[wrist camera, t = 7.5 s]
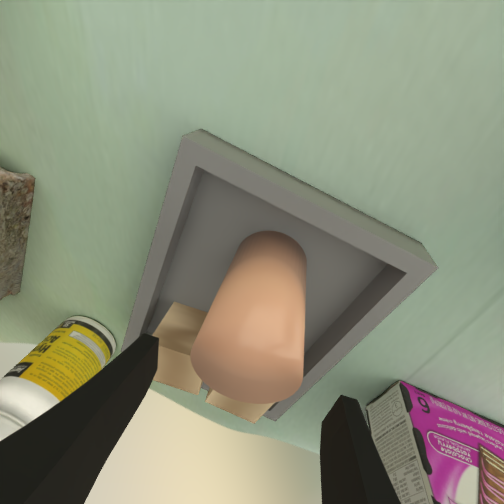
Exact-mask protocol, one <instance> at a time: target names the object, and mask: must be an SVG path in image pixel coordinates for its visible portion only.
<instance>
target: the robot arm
mask: <svg viewBox="0 0 504 504" xmlns="http://www.w3.org/2000/svg"><path fill="white" fill-rule="evenodd" d="M158 350H159V338H158V337H155V336H151V335H148V334H145V333H144V334H142V335H140V336H139V337H138V338H137V339H136V340H135V341H134V342H133V343H132V344H131V345H130V346H129V347H127V348H126V349H125V350H124V351H123V352H122V353H121V354H120V355H118V356H117V357H116V358H115V359H114V360H113V361H111V362H110V363H109V364H108V365H107V366H105V367H104V368H103V369H102V370H100V371H99V372H98V373H97V374H96V375H94V376H93V377H92V378H91V379H89V380H88V381H87V382H86V383H84V384H83V385H82V386H80V387H79V388H78V389H76V390H75V391H74V392H72V393H71V394H70V395H68V396H67V397H66V398H64V399H63V400H62V401H60V402H59V403H57V404H56V405H54V406H53V407H52V408H50V409H49V410H47V411H46V412H44V413H43V414H42V415H40V416H39V417H37V418H36V419H34V420H33V421H31V422H30V423H28V424H26V425H25V426H23V427H22V428H20V429H19V430H17V431H15V432H14V433H12V434H11V435H9V436H8V437H6V438H4V439H3V440H1V441H0V504H84V502H85V500H86V498H87V496H88V495H89V493H90V490H91V489H92V487H93V485H94V483H95V481H96V479H97V477H98V475H99V473H100V471H101V469H102V467H103V465H104V464H105V462H106V460H107V458H108V457H109V455H110V453H111V451H112V450H113V448H114V447H115V445H116V443H117V442H118V440H119V438H120V437H121V435H122V433H123V432H124V430H125V428H126V427H127V425H128V423H129V422H130V420H131V419H132V417H133V415H134V414H135V412H136V410H137V409H138V407H139V405H140V403H141V402H142V400H143V398H144V397H145V395H146V393H147V391H148V389H149V387H150V385H151V382H152V380H153V378H154V376H155V374H156V372H157V369H158ZM320 465H321V486H322V487H321V488H322V504H401V502H400V500H399V498H398V496H397V493H396V491H395V489H394V487H393V485H392V483H391V480H390V478H389V476H388V474H387V471H386V469H385V467H384V464H383V462H382V460H381V458H380V455H379V453H378V450H377V448H376V446H375V443H374V441H373V438H372V436H371V433H370V431H369V428H368V426H367V423H366V421H365V418H364V415H363V413H362V410H361V408H360V405H359V402H358V401H357V400H356V399H353V398H350V397H347V396H343V395H340V397H339V398H338V400H337V401H336V403H335V404H334V406H333V407H332V408H331V410H330V411H329V413H328V414H327V416H326V417H325V418H324V420H323V421H322V428H321V444H320Z"/></svg>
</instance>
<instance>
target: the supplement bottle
mask: <svg viewBox="0 0 504 504" xmlns="http://www.w3.org/2000/svg"><path fill="white" fill-rule="evenodd" d="M115 349H116V343H115V340H114V337H113V336H112V334H111V333H110V332H109V331H108V330H107V329H106V328H105V327H104V326H103V325H101V324H100V323H98V322H96V321H94V320H92V319H90V318H87V317H83V316H73V317H70V318H68V319H66V320H65V321H64V322H62V323H61V324H60V325H59V326H58V327H57V328H56V329H55V330H54V331H53V332H51V333H50V334H49V335H48V336H47V337H46V338H45V339H44V340H43V341H42V342H41V343H40V344H38V345H37V346H36V347H35V348H34V349H33V350H32V351H31V352H30V353H29V354H28V355H27V356H26V357H24V358H23V359H22V360H21V361H20V362H19V363H18V364H17V365H16V366H15V367H14V368H13V369H11V370H10V371H9V372H8V373H7V374H6V375H5V376H4V377H3V378H2V379H1V380H0V441H1V440H3V439H4V438H6V437H8V436H9V435H11V434H12V433H14V432H15V431H17V430H19V429H20V428H22V427H23V426H25V425H26V424H28V423H30V422H31V421H33V420H34V419H36V418H37V417H39V416H40V415H42V414H43V413H44V412H46V411H47V410H49V409H50V408H52V407H53V406H54V405H56V404H57V403H59V402H60V401H62V400H63V399H64V398H66V397H67V396H68V395H70V394H71V393H72V392H74V391H75V390H76V389H78V388H79V387H80V386H82V385H83V384H84V383H86V382H87V381H88V380H89V379H91V378H92V377H93V376H94V375H96V374H97V373H98V372H99V371H100V370H101V369H102V368H103V367H104V366H105V364H106V363H107V362H108V360H109V359H110V358H111V356H112V355H113V354H114V352H115Z"/></svg>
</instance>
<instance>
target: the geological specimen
mask: <svg viewBox="0 0 504 504" xmlns="http://www.w3.org/2000/svg"><path fill="white" fill-rule="evenodd" d="M34 184H35V178H34V177H33V176H31V175H30V174H28V173H14V172H9V171H7V170H5V169H3V168H1V167H0V300H1V299H3V298H4V297H6V296H8V295H9V294H12V295H15V294H17V293H19V292H20V288H21V281H22V274H23V266H24V260H25V253H26V246H27V238H28V230H29V223H30V216H31V209H32V202H33V193H34Z"/></svg>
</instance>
